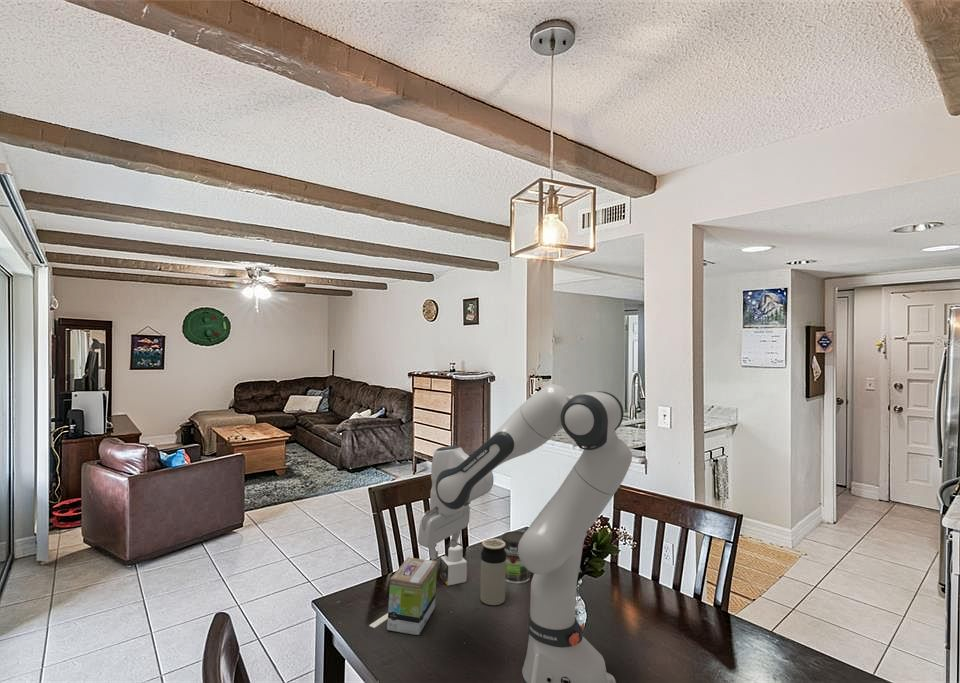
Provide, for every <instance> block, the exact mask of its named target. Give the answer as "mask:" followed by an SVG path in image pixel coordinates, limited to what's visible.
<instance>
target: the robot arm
mask: <svg viewBox="0 0 960 683" xmlns="http://www.w3.org/2000/svg"><path fill="white" fill-rule="evenodd" d="M624 413H625V412H624V407H623V404H622V402H621V401H620V399H619V398H618V397H617V396H615V395H614V394H612V393H610V392H607V391H603V390H602V391H600V390H599V391H587V392H584V393H581V394H577V395H572V394H571V393H570V392H569V390H568V389H566V388H565V387H563V386H561V385H559V384H555V383H554V384H553V383H552V384H548V385H545V386H544V387H543V388H541V389H540V390H538V391H537V392H535V393H534V394H532V395H531V396H530V397H528V399H526V400H525V401H524V402H523V403H522V404H521V405H520V406H519V407H518V408H517V409H516V410H515V411H514V412H513V413H512V414H511V415H510V416H509V417H508V418H507V419H506V421H505V422H504V423H503V424H501V426H500V427H499V428H498V429H497V430H496V431H495V432H494V433H493V434H492V436H490V438H488V440H486V441H485V442H484V443H483V444H482V445H481V446H480V447H478V448H477V449H476V450H475V451H474V452H473V453H472V454H470V455H469V454H468V453H466V452H465V451H464V449H463V448H462V447H461V446H458V445H446V446H441V447H440V448H437V449H435V450H434V452H433V456H432V460H431V468H430V469H431V472H430V478H431V489H430V494H429V495H430V497H429V498H430V500H429V510H427V511H425V513H424V515H423V516H422V517H421V519H420V523H419V528H418V536H417V543H418V545H420V546H421V547H424V548H426V549H428V551H429V559H430V560H435V559H437V558H439V551H438V550H437V549H436V548H437V544H438V543H440V542H442V541H444V540H445V539H448V538H450V537H451V539H450V540H449V543H450V547H453V548H454V547H456V546H457V543H459V542H458V541H459V538H460V535H461V531H462V530H463V529H465V528H467V527H468V526H469V522H470V516H471V514H470V513H471V507H470V504H471V503H472V501H474V500H477V499H479V498H481V497H483V496H484V495H486V494H488V493H489V492H490V491H492V488H493V486H494V474H493V470H495V469H496V468H497V467H498V466H501V465H502V464H504V463H505V462H508V461H510V460H512V459H515V458H517V457H521V456H524V455H527V454H528V453H530V452H532V451H535V450H536V449H538V448H540V447H541V446H543V445H544V444H546V443H547V442H548V441H549V440H551V439H552V438H553V437H554V436H555V435H556V434H558V432H559V431H561V430H562V429H563V430H564V431H565V433H566V434H567V435H568V436H569V437H570V438H571V439H572V440H573V441H574V442H575V444H576V445H577V447H578V448H579V449H581V450H582V452H581V455H580V457H579V458H578V459H577V461H576V462H575V463H574V465H573V467H572V468H571V470H570V471H569V473H568V474H567V475H566V477H565V479H564V480H563V482H562V483H561V485H560V487H558V490H557V491H556V492H555V493H554V495H553V496H552V497H551V498H550V499H549V500H548V502H547V503H546V504H545V505H544V506H543V508H542V509H541V510H540V512H539V513H538V515H537V516H536V517H535V518H534V519H533V521H532V522H531V523H530V525H529V527H528V528H527V529H526V531H525V532H523V533H524V534H523V536H522V538H521V539H520V541H519V544H518V555H519V558H520V560H521V562H522V564H523V565H524V567H525V568H526V569H527V570H529V571H530V573H531V574H533V575H532V578H531V583H530V598H529V600H530V602H529V603H530V604H529V608H530V609H529V613H528V618H527V619H528V620H527V635H528V641H527V642H528V643H527V647H526V648H527V649H526V655H525V659H524V662H523V666H522V669H521V673H522V677H523V679H524V681H525V683H617V681H616V679H615V677H614V676H613V675H612V674H611V673H609V672H607V667H606V661H605V659H604V656H603V655H602V654H601V653H600V652H599V651H598V650H597V649H596V648H595V647H594V646H593V645H592V644H591V643H590V642H589V641H588V640H587V639H586V638H585V636H583V631H584V629H585V622H583V623H582V624H580V623H579V622H578V620H577V617H576V603H577V602H576V596H577V595H576V594H577V584H578V578H579V573H580V568H581V563H582V562H581V561H582V555H583V548H584V542H585V539H586V536H587V532H588V531H589V530H590V528H591V527H592V526H593V524H594V523H595V522H596V521H597V519H598V518H599V517H600V515H601V514H602V513H603V511H604V509H605V508H606V507H607V505H609V503H610V501H611V500H612V498H613V497H614V496H615V494H616V492H617V491H618V489H619V487H620V486H621V485H622V483H623V481H624V479H625V477H626V476H627V473H628V471H629V469H630V467H631V464H632V461H633V454H632V452H631V449H630V447H629V446H628V445H627V444H626V442H624V441H623V440H622V439H621V438H619V436H618V434H617V433H616V430H617V429H619V427H620V426H621V424H622V422H623V420H624Z"/></svg>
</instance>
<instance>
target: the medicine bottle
mask: <svg viewBox="0 0 960 683" xmlns="http://www.w3.org/2000/svg"><path fill="white" fill-rule="evenodd" d="M463 550H464V548H463V545H462V544H461V543H459V542H457V546H456V547H454V548H453V547H450V542H449V543H447V544H445V548H444V556H440V571H439V572H440V578H441V580H443V582H444V583H445V584H446V586H452V585H458V584H462V583H467V577H468V576H467V573H468V560H466V559H465V558H464V557H463V555H464V554H463V552H464V551H463Z"/></svg>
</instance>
